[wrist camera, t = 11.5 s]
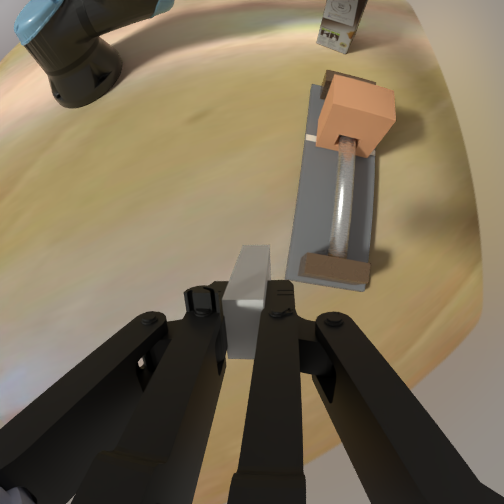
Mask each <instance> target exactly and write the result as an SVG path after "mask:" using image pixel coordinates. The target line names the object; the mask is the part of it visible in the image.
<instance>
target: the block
mask: <svg viewBox="0 0 504 504" xmlns="http://www.w3.org/2000/svg"><path fill="white" fill-rule="evenodd" d="M395 122H396V113H395V99H394V91H393V90H390V89H387V88H383V87H380V86H377V85H374V84H370V83H367V82H363V81H360V80H356V79H352V78H348V77H344V76H340V75H336V74H334V77H333V80H332V83H331V85H330V88H329V91H328V94H327V96H326V99H325V102H324V105H323V108H322V110H321V113H320V116H319V119H318V128H317V137H316V147H321V148H326V149H330V150H335V151H338V149H339V135H344V136H348V137H352V138H356V154H355V155H356V156H360V157H364V158H368V156H369V155H370V154H371V152H372V151H373V150H374V149H375V147H376V146H377V145H378V144H379V142H380V141H381V140H382V138H383V137H384V136H385V135H386V133H387V132H388V131H389V129H390V128H391V127H392V125H393V124H394V123H395Z"/></svg>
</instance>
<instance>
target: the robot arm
mask: <svg viewBox="0 0 504 504" xmlns="http://www.w3.org/2000/svg"><path fill="white" fill-rule="evenodd" d="M174 1H175V0H31V1H30V2H29V3H28V4H27V5H26V6H25V7H24V8H23V10H22V11H21V12H20V14H19V15H18V17H17V19H16V21H15V24H14V31H15V33H16V35H17V36H18V38H19V40H20V42H21V44H22V45H24V47H25V48H26V49H27V50H28V52H29V53H30V54H31V55H32V57H33V58H34V59H35V60H36V62H37V63H38V64H39V65H40V66H41V68H42V69H43V70H44V71H45V72H46V74H47V75H48V79H49V83H50V86H51V90H52V93H53V96H54V98H55V99H56V100H57V101H58V102H59V104H60V105H62V106H63V107H66V108H78V107H82V106H84V105H87V104H89V103H91V102H93V101H95V100H96V99H98V98H99V97H101V96H102V95H103V94H104V93H106V92H107V91H108V90H109V89H110V88H111V87H112V86H113V84H114V83H115V82H116V80H117V79H118V77H119V75H120V73H121V70H122V60H121V58H120V56H119V54H118V52H117V51H116V49H115V48H113V47H112V46H111V45H109V44H108V43H107V42H106V41H104V40H103V39H102V38H100V37H99V36H100V35H103V34H105V33H108V32H110V31H113V30H116V29H119V28H121V27H124V26H127V25H130V24H133V23H136V22H139V21H142V20H145V19H149V18H153V17H154V16H156V15H159V14H162V13H165V12H167V11H169V10H170V9H171V8H172V7H173V5H174ZM184 298H185V304H186V311H187V312H186V314H185V316H184V318H183V319H181V320H176V321H168V322H167V320H166V316H165V315H164V314H163V313H160V312H154V311H149V312H146V313H143V314H140V315H139V316H137V317H136V318H134V319H133V320H132V321H131V322H129V323H128V324H127V325H126V326H124V327H123V328H122V329H121V330H119V331H118V332H117V333H116V334H114V335H113V336H112V337H111V338H109V339H108V340H107V341H106V342H104V343H103V344H102V345H101V346H100V347H98V348H97V349H96V350H95V351H93V352H92V353H91V354H90V355H88V356H87V357H86V358H85V359H84V360H82V361H81V362H80V363H79V364H77V365H76V366H75V367H74V368H73V369H71V370H70V371H69V372H68V373H66V374H65V375H64V376H63V377H62V378H60V379H59V380H58V381H57V382H56V383H54V384H53V385H52V386H51V387H50V388H48V389H47V390H46V391H45V392H44V393H42V394H41V395H40V396H39V397H38V398H36V399H35V400H34V401H33V402H32V403H30V404H29V405H28V406H27V407H26V408H25V409H23V410H22V411H21V412H20V413H19V414H17V415H16V416H15V417H14V418H13V419H12V420H10V421H9V422H8V423H7V424H6V425H5V426H4V427H2V428H1V429H0V504H66V503H67V502H68V501H69V500H70V499H71V498H72V497H73V496H74V495H75V496H74V498H73V500H72V502H71V504H192V501H193V497H194V493H195V489H196V485H197V481H198V478H199V474H200V470H201V466H202V462H203V458H204V454H205V450H206V446H207V442H208V438H209V434H210V430H211V426H212V422H213V418H214V414H215V410H216V405H217V401H218V397H219V393H220V389H221V385H222V381H223V377H224V373H225V369H226V358H225V355H226V351H227V353H228V359H254V365H253V372H252V379H251V386H250V393H249V399H248V406H247V413H246V419H245V426H244V432H243V439H242V445H241V452H240V458H239V464H238V470H237V472H236V473H234V474H233V477H232V480H231V485H230V490H229V496H228V502H227V504H306V479H305V475H304V472H303V433H302V403H301V380H300V372H302V373H307V374H312V380H313V382H314V384H315V386H316V389H317V391H318V393H319V395H320V397H321V399H322V401H323V403H324V405H325V408H326V410H327V412H328V414H329V416H330V418H331V420H332V422H333V424H334V426H335V429H336V431H337V433H338V435H339V437H340V439H341V441H342V443H343V445H344V448H345V450H346V452H347V454H348V456H349V458H350V460H351V462H352V464H353V466H354V468H355V471H356V473H357V475H358V477H359V479H360V481H361V483H362V485H363V487H364V489H365V492H366V494H367V496H368V498H369V500H370V502H371V504H504V497H503V496H501V495H499V494H498V493H496V492H494V491H493V490H491V489H490V488H488V487H487V486H485V485H484V484H482V483H481V482H480V481H479V480H478V479H477V477H476V476H475V475H474V473H473V472H472V470H471V469H470V468H469V466H468V465H467V464H466V462H465V461H464V460H463V458H462V457H461V456H460V454H459V453H458V452H457V450H456V449H455V448H454V446H453V445H452V444H451V443H450V441H449V440H448V438H447V437H446V436H445V434H444V433H443V432H442V430H441V429H440V428H439V427H438V425H437V424H436V423H435V421H434V420H433V419H432V418H431V416H430V415H429V414H428V412H427V411H426V410H425V409H424V408H423V406H422V405H421V404H420V402H419V401H418V400H417V398H416V397H415V396H414V395H413V393H412V392H411V391H410V390H409V388H408V387H407V386H406V384H405V383H404V382H403V381H402V380H401V378H400V377H399V376H398V375H397V373H396V372H395V371H394V370H393V368H392V367H391V366H390V365H389V363H388V362H387V361H386V360H385V359H384V357H383V356H382V355H381V354H380V352H379V351H378V350H377V349H376V348H375V346H374V345H373V344H372V343H371V341H370V340H369V339H368V338H367V337H366V335H365V334H364V333H363V332H362V331H361V329H360V328H359V327H358V326H357V325H356V323H355V322H354V321H353V320H352V319H351V318H350V317H349V316H348V315H346V314H343V313H340V312H327V313H323V314H321V315H319V316H318V317H317V319H316V322H315V321H310V320H306V319H303V318H301V317H300V316H298V315H297V312H296V310H295V299H294V285H293V284H292V283H291V282H290V281H289V280H271V268H270V245H243V246H242V249H241V251H240V254H239V256H238V259H237V262H236V264H235V267H234V269H233V272H232V274H231V277H230V280H229V281H214V282H213V283H212V284H210V285H209V286H205V285H204V286H196V287H192V288H190V289H187V290H186V291H185V292H184ZM141 358H143V362H144V364H143V365H142V366H141V367H139V365H138V361H139V360H140V359H141Z"/></svg>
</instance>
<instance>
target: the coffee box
mask: <svg viewBox="0 0 504 504" xmlns="http://www.w3.org/2000/svg"><path fill="white" fill-rule="evenodd" d="M367 1H368V0H327V2H326V6H325V10H324V14H323V18H322V22H321V26H320V30H319V34H318V38H317V42H316V43H317V44H320V45H323V46H325V47H328V48H331V49H333V50H336V51H338V52H341V53H343V54H346V53H347V51H348V48H349V46H350V44H351V42H352V40H353V38H354V35H355V33H356V31H357V28H358V26H359V23H360V20H361V18H362V15H363V12H364V9H365V7H366V4H367Z"/></svg>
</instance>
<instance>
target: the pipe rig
mask: <svg viewBox="0 0 504 504" xmlns="http://www.w3.org/2000/svg"><path fill="white" fill-rule="evenodd" d="M334 74H336V75H340V76H344V77H348V78H352V79H356V80H360V81H363V82H367V83H370V84H374V85H376V82H373V81H369V80H366V79H362V78H359V77H355V76H351V75H347V74H343V73H339V72H335V71H331V70H326V73H325V76H324V79H323V82H322V86H321V90H320V99H322V100H325V99H326V96H327V94H328V91H329V88H330V85H331V83H332V80H333V77H334ZM355 154H356V138H352V137H348V136H344V135H339V149H338V162H337V174H336V185H335V196H334V205H333V215H332V224H331V232H330V240H329V248H328V256H326V255H321V254H315V253H309V252H307V253H306V254H305V255H304V256H302V257H301V259H300V265H299V272H298V276H301V277H307V278H313V279H319V280H325V281H331V282H337V283H343V284H349V285H361V284H367V283H368V282H369V274H370V266H371V263H365V262H360V261H354V260H348V259H347V251H348V242H349V233H350V223H351V212H352V201H353V188H354V172H355Z"/></svg>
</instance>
